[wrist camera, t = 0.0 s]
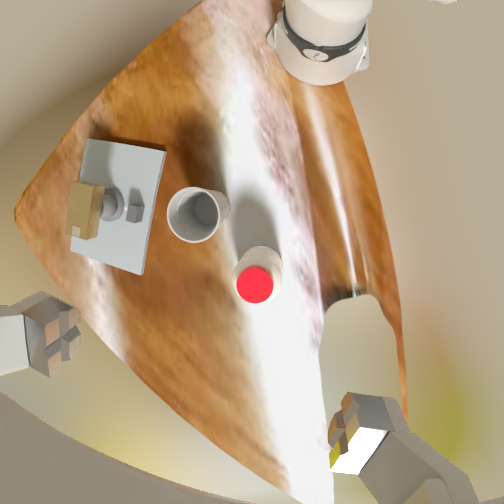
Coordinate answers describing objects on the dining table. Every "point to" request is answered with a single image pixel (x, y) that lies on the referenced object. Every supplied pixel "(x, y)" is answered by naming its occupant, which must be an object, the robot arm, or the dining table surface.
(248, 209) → the dining table surface
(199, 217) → the cup
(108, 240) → the base
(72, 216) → the tan parcel with label
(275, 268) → the pill bottle
